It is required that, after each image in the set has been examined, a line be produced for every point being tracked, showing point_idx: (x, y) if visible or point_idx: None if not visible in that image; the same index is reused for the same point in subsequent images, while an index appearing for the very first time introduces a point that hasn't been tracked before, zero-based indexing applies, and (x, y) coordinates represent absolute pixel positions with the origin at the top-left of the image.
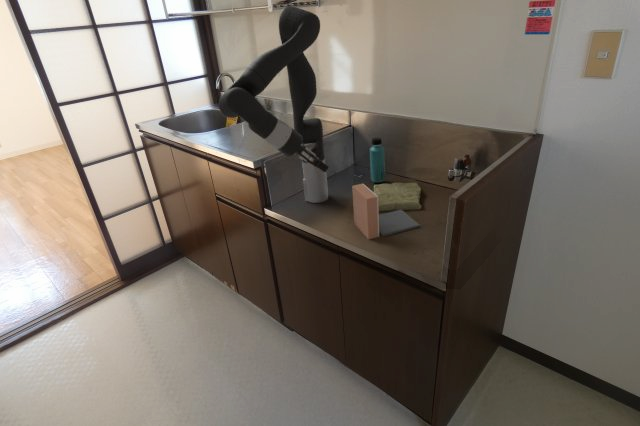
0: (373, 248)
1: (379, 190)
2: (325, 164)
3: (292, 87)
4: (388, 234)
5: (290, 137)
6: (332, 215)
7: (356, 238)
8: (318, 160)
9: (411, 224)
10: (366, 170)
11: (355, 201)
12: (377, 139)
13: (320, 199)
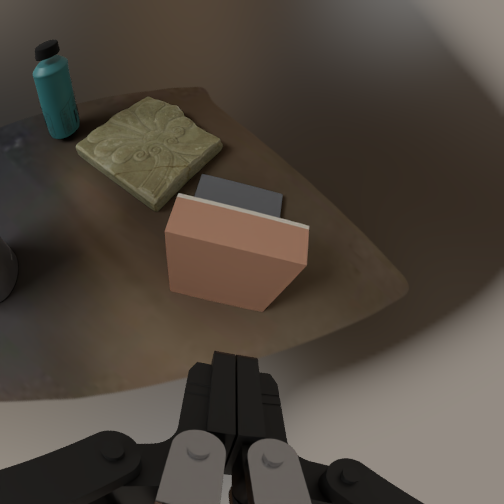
0: (302, 326)
1: (107, 152)
2: (259, 382)
3: None
4: None
5: None
6: (89, 307)
7: (240, 333)
8: (391, 494)
9: (272, 203)
10: (17, 124)
11: (189, 263)
12: (50, 44)
13: (11, 280)
